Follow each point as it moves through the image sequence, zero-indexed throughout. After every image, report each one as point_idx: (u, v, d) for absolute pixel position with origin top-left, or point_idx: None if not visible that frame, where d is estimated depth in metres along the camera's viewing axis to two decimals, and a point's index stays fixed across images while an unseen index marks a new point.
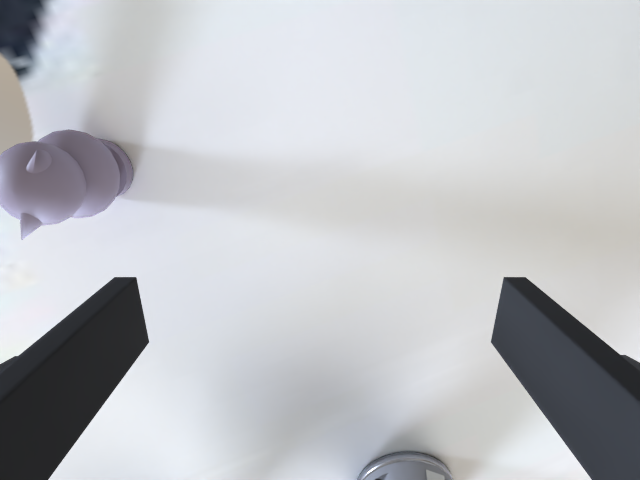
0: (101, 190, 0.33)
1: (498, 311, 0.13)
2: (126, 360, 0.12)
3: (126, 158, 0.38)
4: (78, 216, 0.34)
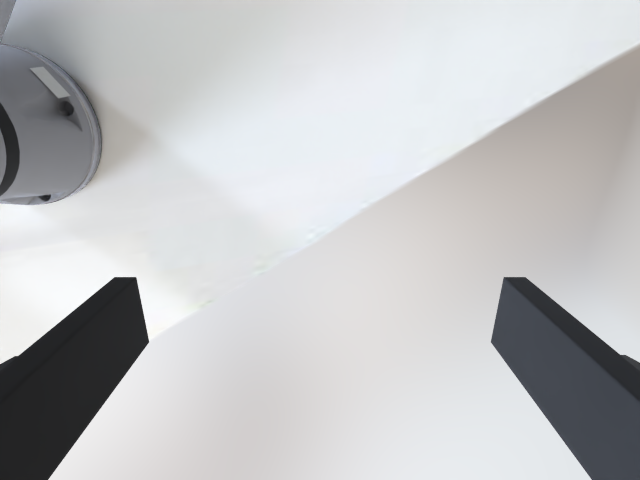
0: None
1: (498, 311, 0.13)
2: (126, 360, 0.12)
3: None
4: None
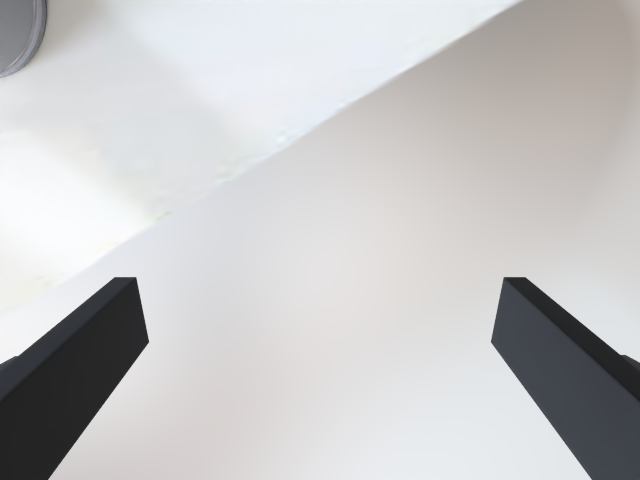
0: None
1: (498, 311, 0.13)
2: (127, 360, 0.12)
3: None
4: None
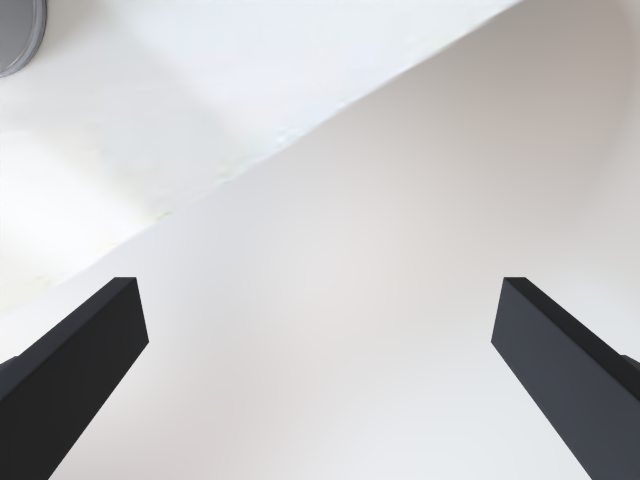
0: None
1: (498, 311, 0.13)
2: (127, 360, 0.12)
3: None
4: None
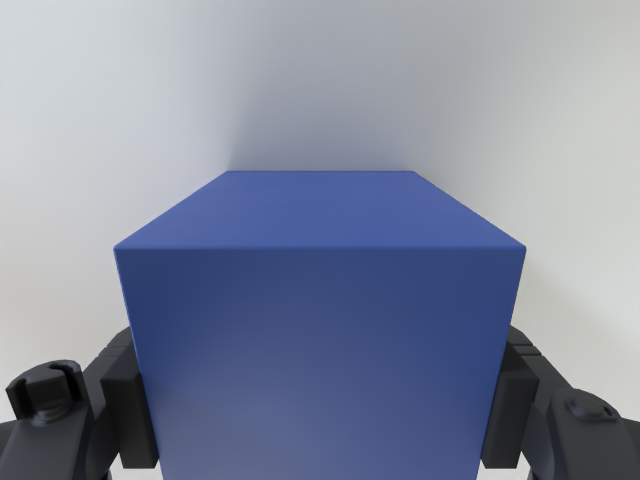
0: None
1: None
2: None
3: None
4: None
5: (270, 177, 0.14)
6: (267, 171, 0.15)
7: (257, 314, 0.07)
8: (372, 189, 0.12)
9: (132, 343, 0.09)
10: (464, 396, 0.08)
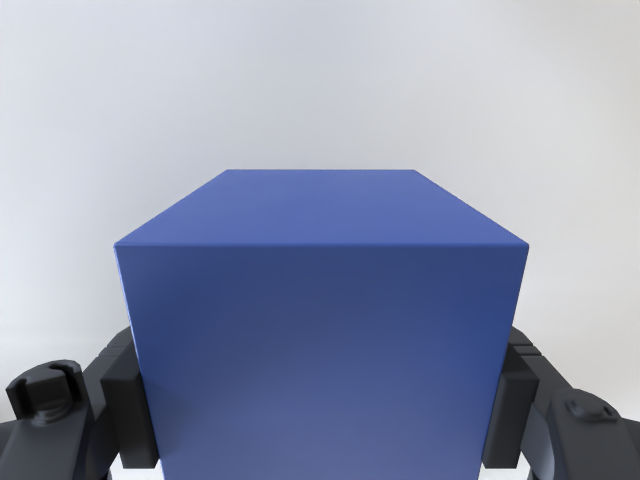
0: None
1: None
2: None
3: None
4: None
5: (271, 175, 0.14)
6: (267, 170, 0.15)
7: (258, 312, 0.07)
8: (373, 187, 0.12)
9: (132, 343, 0.09)
10: (466, 395, 0.08)
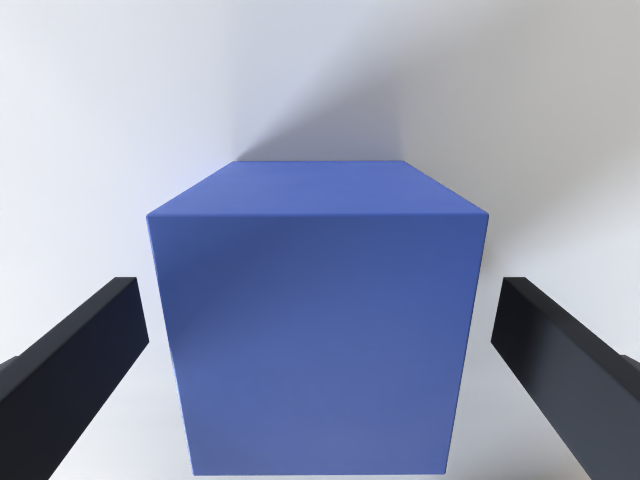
0: None
1: (498, 311, 0.13)
2: (127, 360, 0.12)
3: None
4: None
5: (273, 166, 0.15)
6: (270, 161, 0.16)
7: (265, 273, 0.09)
8: (364, 174, 0.13)
9: None
10: (441, 345, 0.10)
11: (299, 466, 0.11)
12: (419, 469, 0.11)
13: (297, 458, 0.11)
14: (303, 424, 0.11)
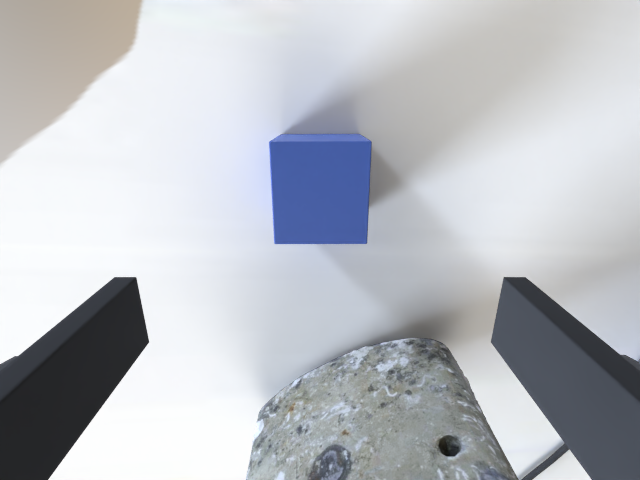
0: None
1: (498, 311, 0.13)
2: (126, 360, 0.12)
3: None
4: None
5: (300, 135, 0.35)
6: (298, 134, 0.36)
7: (304, 160, 0.28)
8: (339, 136, 0.33)
9: None
10: (360, 187, 0.29)
11: (313, 239, 0.31)
12: (357, 241, 0.31)
13: (313, 235, 0.31)
14: (315, 220, 0.30)
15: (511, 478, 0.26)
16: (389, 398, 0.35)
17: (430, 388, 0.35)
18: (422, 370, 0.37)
